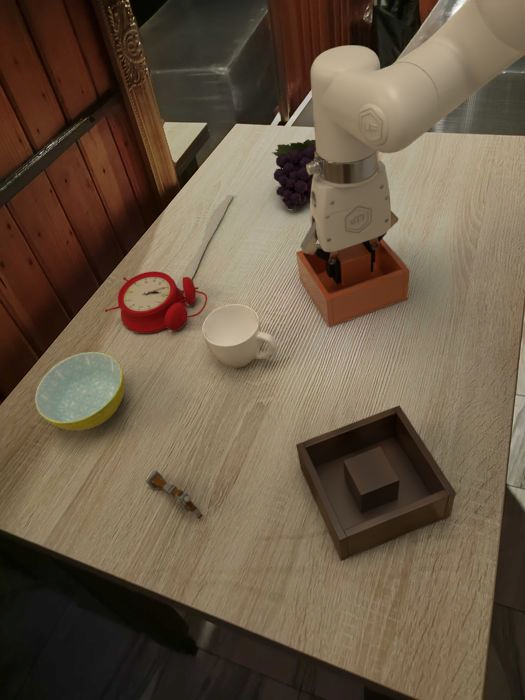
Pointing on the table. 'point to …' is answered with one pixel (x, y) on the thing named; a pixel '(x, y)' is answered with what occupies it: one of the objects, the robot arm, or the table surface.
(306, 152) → the fruit
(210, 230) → the butter knife
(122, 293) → the alarm clock
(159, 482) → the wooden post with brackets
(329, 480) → the walnut bin
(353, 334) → the table surface
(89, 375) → the bowl
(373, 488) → the walnut block
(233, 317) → the cup
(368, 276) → the terracotta block
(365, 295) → the terracotta bin
